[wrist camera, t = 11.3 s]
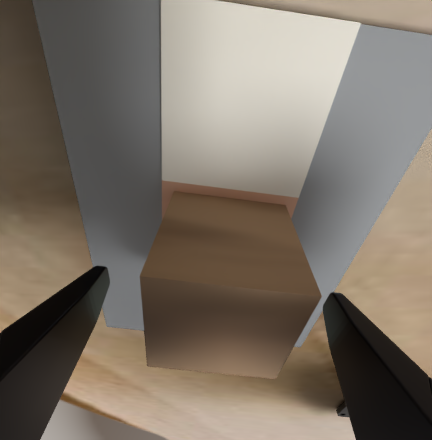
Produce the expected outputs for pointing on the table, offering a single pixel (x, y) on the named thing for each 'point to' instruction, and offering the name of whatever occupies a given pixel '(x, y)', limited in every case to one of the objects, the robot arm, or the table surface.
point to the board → (230, 123)
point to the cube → (225, 287)
